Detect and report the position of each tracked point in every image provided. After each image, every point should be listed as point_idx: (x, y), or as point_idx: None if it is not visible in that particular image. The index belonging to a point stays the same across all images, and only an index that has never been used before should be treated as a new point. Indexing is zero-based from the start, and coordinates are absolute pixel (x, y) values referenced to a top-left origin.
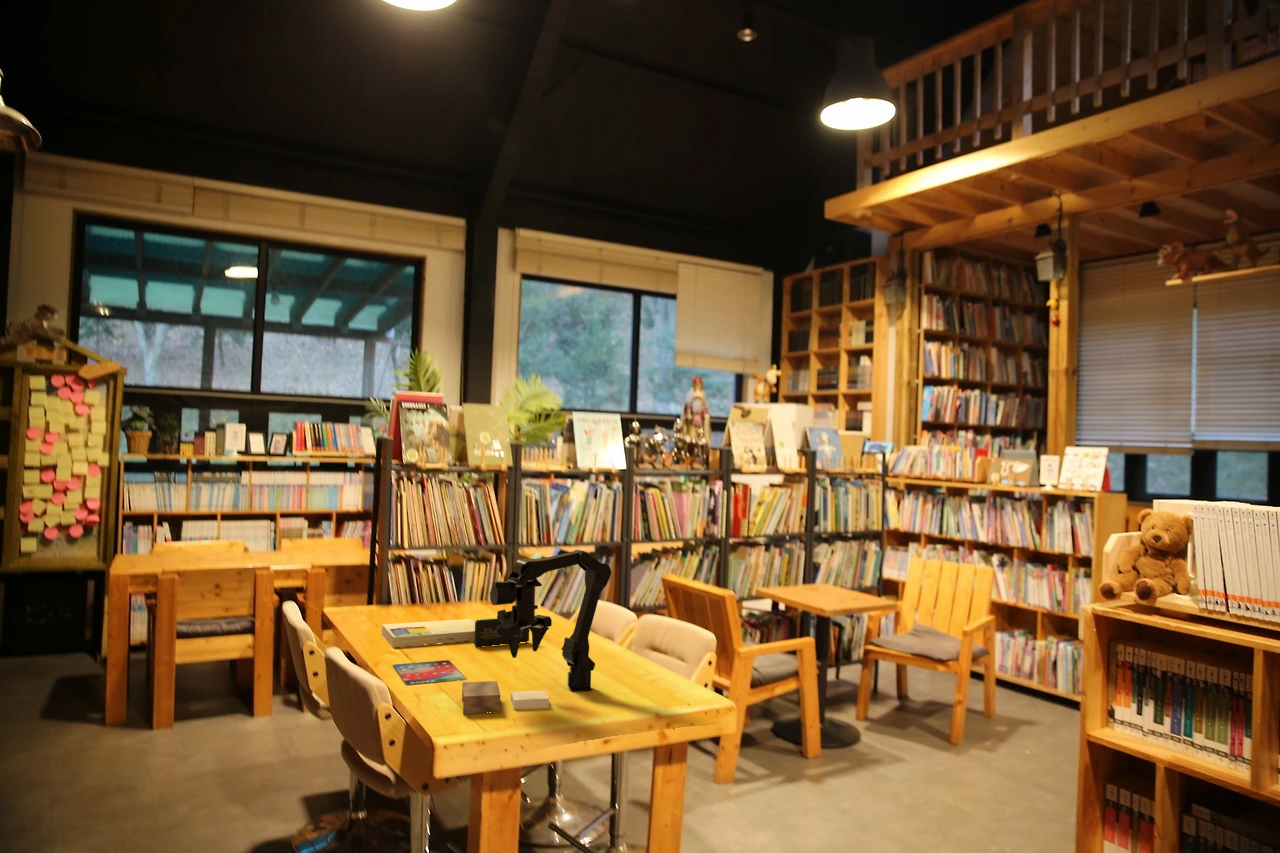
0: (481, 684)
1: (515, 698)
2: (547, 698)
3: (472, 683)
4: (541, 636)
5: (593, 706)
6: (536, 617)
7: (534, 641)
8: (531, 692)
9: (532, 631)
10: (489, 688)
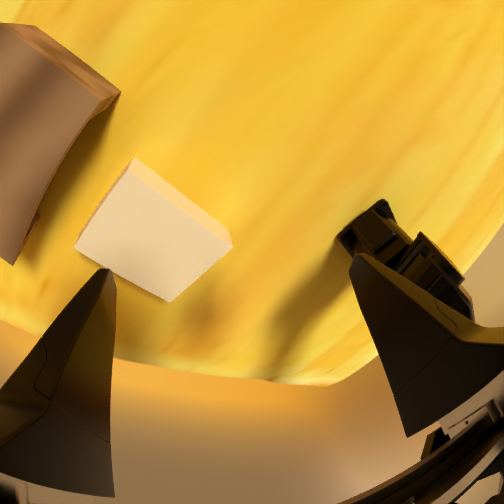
0: (16, 103)
1: (88, 239)
2: (167, 300)
3: (3, 64)
4: (394, 384)
5: (249, 328)
6: (496, 472)
7: (393, 315)
8: (180, 230)
9: (462, 357)
10: (9, 180)
